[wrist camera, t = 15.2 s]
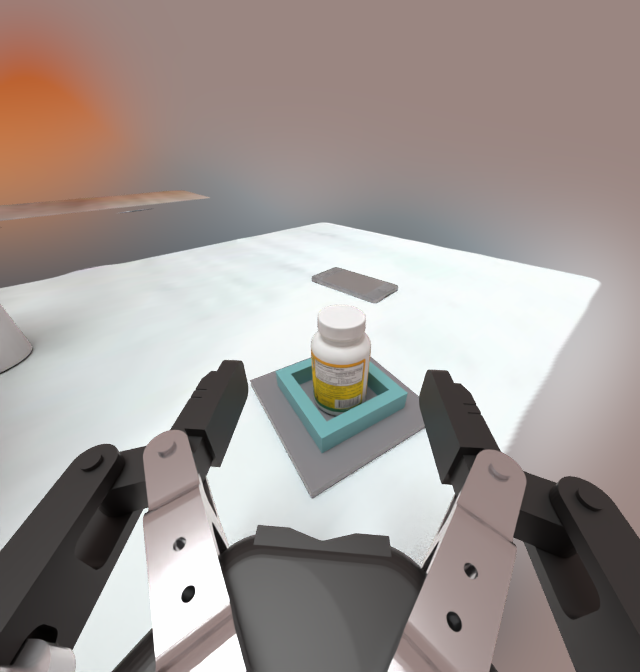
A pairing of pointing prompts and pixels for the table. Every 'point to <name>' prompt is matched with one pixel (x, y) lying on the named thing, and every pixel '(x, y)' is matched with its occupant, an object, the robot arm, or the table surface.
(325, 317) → the supplement bottle
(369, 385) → the bottle dock
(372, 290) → the phone
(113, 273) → the table surface
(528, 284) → the table surface
